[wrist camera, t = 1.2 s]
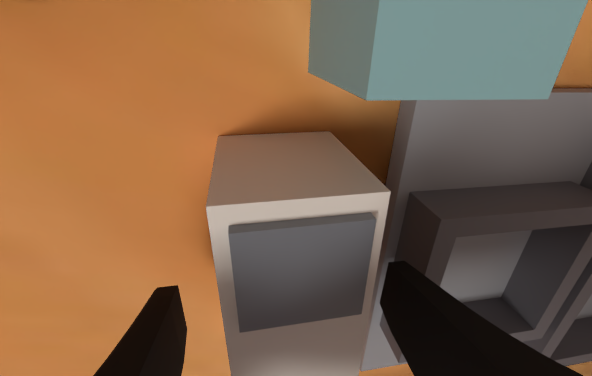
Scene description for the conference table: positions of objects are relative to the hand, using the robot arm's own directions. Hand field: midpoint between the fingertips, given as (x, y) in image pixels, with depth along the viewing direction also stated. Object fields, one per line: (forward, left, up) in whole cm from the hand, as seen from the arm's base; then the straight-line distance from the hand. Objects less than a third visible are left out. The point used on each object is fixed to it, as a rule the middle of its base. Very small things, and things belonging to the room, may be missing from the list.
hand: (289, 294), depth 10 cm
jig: (-1, -13, -3) cm, 13 cm away
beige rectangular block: (0, 0, -3) cm, 3 cm away
